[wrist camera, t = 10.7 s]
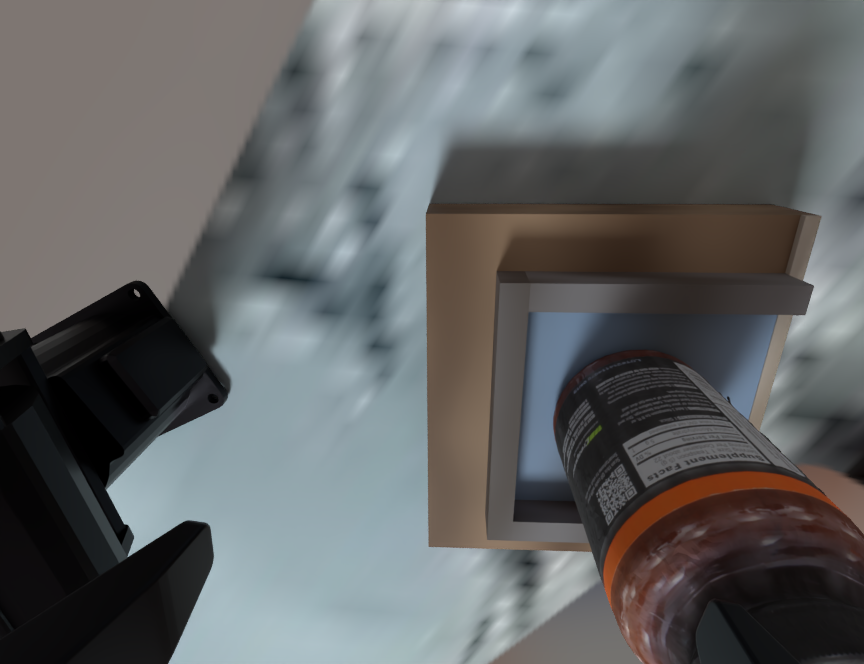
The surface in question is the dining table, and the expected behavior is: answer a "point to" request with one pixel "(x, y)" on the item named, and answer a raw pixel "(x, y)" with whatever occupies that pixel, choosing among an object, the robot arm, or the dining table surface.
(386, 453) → the dining table surface
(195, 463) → the dining table surface
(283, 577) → the dining table surface
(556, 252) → the tan wooden shallow tray
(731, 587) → the supplement bottle
